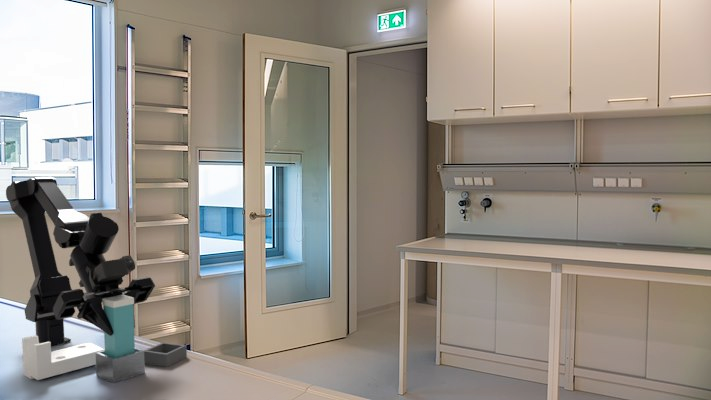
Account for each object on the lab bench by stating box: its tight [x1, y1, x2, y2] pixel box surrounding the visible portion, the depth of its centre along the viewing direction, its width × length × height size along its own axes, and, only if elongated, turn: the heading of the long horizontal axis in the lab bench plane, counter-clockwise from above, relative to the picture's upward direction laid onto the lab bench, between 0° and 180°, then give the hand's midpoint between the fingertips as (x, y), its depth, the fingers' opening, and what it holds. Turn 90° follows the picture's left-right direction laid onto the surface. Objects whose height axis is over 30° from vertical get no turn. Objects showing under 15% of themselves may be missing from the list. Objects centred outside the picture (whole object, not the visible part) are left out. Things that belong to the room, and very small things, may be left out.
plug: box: [102, 295, 136, 358], centre depth 111 cm, size 4×4×13 cm
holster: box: [144, 341, 188, 368], centre depth 119 cm, size 6×6×2 cm
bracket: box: [21, 334, 105, 381], centre depth 114 cm, size 13×7×8 cm, turn 139°
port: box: [95, 346, 146, 384], centre depth 111 cm, size 6×6×4 cm
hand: (122, 331), depth 110 cm, fingers closed on plug, 4 cm apart
